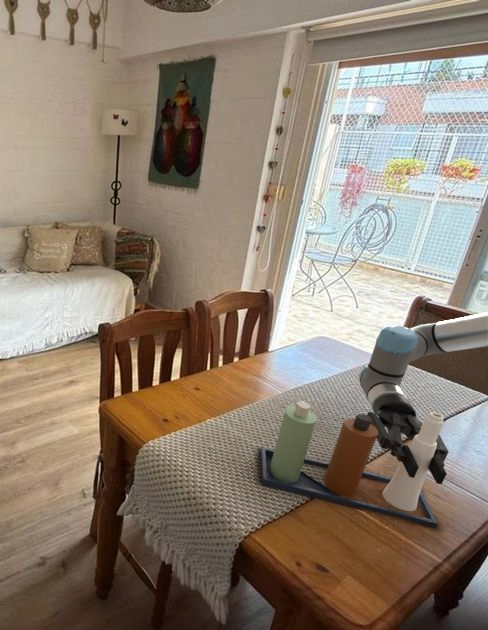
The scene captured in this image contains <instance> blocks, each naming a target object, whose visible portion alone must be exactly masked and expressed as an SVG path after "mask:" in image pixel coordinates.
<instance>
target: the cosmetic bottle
mask: <svg viewBox="0 0 488 630" xmlns="http://www.w3.org/2000/svg"><path fill="white" fill-rule="evenodd" d="M444 420H445V416H444V415H442V414H441V413H439V412H435V411H430V412H429V413H428V415H427V416H425V418H424V420H423V421H422V424H423V425H422V427H421V429H420V432H419V434H417V435H415V436H414V438H413V440H411V441H410V444H409V445H408V447H409V449H410V451H411V453H412V455H413V457H414V459H415V460H416V462H417V464H418V466H419V468H418V470H417V472H416V475H415V477H414V478H412V477H409V475H408V473H407V471H406V469H405V467H404V465H403V463H402V462H400V463H399V465H398V467H397V468H396V471H395V472H394V474H393V476H392V477H391V478H392V479H391V481H390V482H389V483H387V486H386V487H385V488H384V489H383V490H382V492H381V494H382V497H383V499H384V500H385V501H386V502H387V503H388V504H389V505H391V506H392V507H394V508H396V509H398V510H401V511H403V512H404V511H405V512H414V511H416V510H417V508H418V502H419V499H418V498H419V494H420V491H421V490H422V487H423V485H424V482H425V479H426V476H427V473H428V471H429V466H430V463H431V461H432V458H433V455H434V453H435V450H436V447H437V442H436V440H437V437H438V435H440V433H441V431H442V430H443V429H442V428H443V427H444Z"/></svg>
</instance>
